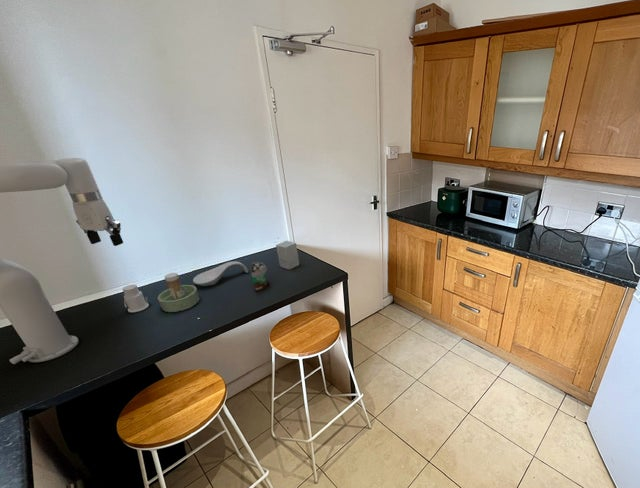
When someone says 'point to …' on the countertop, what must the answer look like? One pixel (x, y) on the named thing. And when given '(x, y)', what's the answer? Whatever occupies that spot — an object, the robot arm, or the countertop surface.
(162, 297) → the bowl
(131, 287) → the downlight
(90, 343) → the countertop surface
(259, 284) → the figurine
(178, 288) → the sprinkles bottle
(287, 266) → the white packaging box
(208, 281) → the spoon rest
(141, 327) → the countertop surface
